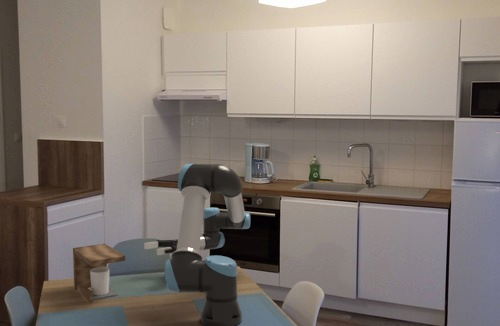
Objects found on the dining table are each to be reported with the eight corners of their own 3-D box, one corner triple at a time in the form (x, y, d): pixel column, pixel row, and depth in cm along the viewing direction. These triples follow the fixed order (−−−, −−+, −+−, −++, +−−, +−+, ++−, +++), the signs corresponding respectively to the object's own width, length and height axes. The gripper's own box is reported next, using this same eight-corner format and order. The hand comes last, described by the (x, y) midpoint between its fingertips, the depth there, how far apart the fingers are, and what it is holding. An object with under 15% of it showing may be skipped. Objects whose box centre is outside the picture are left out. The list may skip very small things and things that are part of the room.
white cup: (86, 294, 229) (86, 271, 228) (97, 289, 237) (96, 266, 236) (103, 296, 227) (102, 273, 226) (113, 290, 235) (113, 267, 234)
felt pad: (108, 288, 240) (108, 287, 240) (117, 295, 231) (117, 294, 231) (83, 293, 233) (83, 291, 233) (91, 300, 224) (91, 299, 224)
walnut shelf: (105, 283, 247) (104, 243, 245) (126, 298, 227) (125, 255, 225) (73, 289, 239) (72, 248, 237) (91, 305, 219) (90, 261, 217)
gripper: (206, 257, 246) (162, 263, 234) (180, 246, 267) (139, 251, 255) (206, 240, 245) (162, 246, 233) (180, 230, 266) (139, 235, 254)
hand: (150, 249), depth 244 cm, fingers open, 13 cm apart
